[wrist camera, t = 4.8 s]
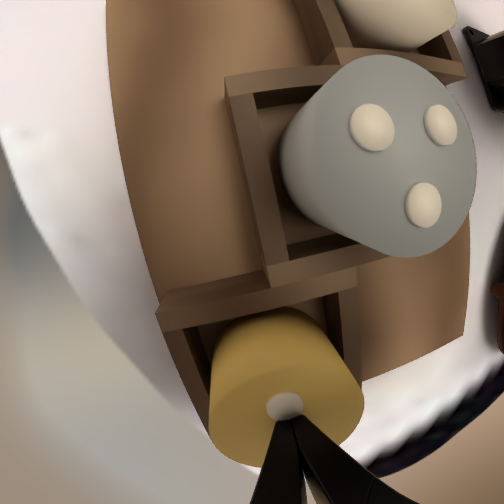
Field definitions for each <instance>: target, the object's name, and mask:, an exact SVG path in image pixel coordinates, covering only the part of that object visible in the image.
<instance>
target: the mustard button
mask: <svg viewBox="0 0 504 504" xmlns="http://www.w3.org/2000/svg"><path fill="white" fill-rule="evenodd" d="M363 410H364V396H363V393H362V390H361V388H360V386H359V385H358V383H357V382H356V380H355V379H354V377H353V375H352V374H351V372H350V371H349V369H348V368H347V366H346V365H345V363H344V362H343V360H342V359H341V357H340V355H339V354H338V352H337V351H336V349H335V348H334V346H333V345H332V343H331V342H330V340H329V339H328V337H327V336H326V334H325V333H324V331H323V330H322V328H321V326H320V325H319V324H318V323H317V321H315V320H314V319H313V318H312V317H311V316H309V315H308V314H306V313H305V312H303V311H300V310H298V309H295V308H292V307H286V306H283V307H279V308H275V309H271V310H267V311H262V312H258V313H254V314H250V315H245V316H241V317H236V318H235V319H234V320H232V321H231V322H230V323H229V324H228V325H227V326H226V327H225V328H224V329H223V330H222V331H221V333H220V334H219V336H218V338H217V340H216V342H215V345H214V348H213V355H212V370H211V387H210V406H209V435H210V438H211V440H212V442H213V444H214V445H215V446H216V448H217V449H218V450H219V451H220V452H221V453H223V454H224V455H225V456H227V457H228V458H230V459H232V460H234V461H236V462H239V463H242V464H245V465H249V466H254V467H261V468H262V465H263V462H264V459H265V456H266V452H267V449H268V446H269V443H270V439H271V436H272V432H273V429H274V425H275V422H276V421H277V420H288V419H292V418H294V417H296V416H297V415H301V414H303V415H305V416H306V417H307V418H308V419H309V420H310V421H311V422H312V423H313V424H315V425H316V426H317V427H318V428H319V429H320V430H321V431H322V432H323V433H325V434H326V435H327V436H328V437H329V438H330V439H331V440H332V441H334V442H335V443H336V444H337V445H338V446H339V445H340V444H341V443H342V442H343V441H345V440H346V439H347V438H348V437H349V436H350V434H351V433H352V432H353V431H354V429H355V428H356V426H357V425H358V423H359V421H360V419H361V417H362V414H363Z"/></svg>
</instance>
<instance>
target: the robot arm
mask: <svg viewBox="0 0 504 504" xmlns="http://www.w3.org/2000/svg"><path fill="white" fill-rule="evenodd" d="M463 31H464V33H465V36H466V38H467V40H468V42H469V45H470V47H471V50H472V52H473V55H474V57H475V60H476V62H477V65H478V68H479V71H480V73H481V76H482V79H483V82H484V86H485V89H486V92H487V95H488V99H489V103H490V105H491V107H492V109H493V110H495V111H500V112H504V31H502V32H499V33H496V34H494V35H491V36H489V35H487V34H485V33H483V32H481V31H478V30H476V29H474V28H471V27H469V26H467V27H465V28H463ZM304 476H305V478H304ZM305 479H306V481H307V484H308V486H309V488H310V490H311V492H312V495H313V497H314V499H315V501H316V503H317V504H419V503H417V502H415V501H413V500H411V499H409V498H407V497H405V496H404V495H402V494H400V493H398V492H397V491H395V490H394V489H392V488H391V487H389V486H388V485H386V484H385V483H384V482H382V481H381V480H380V479H379V478H377V477H376V478H375V475H373V474H372V473H371V472H370V471H368V470H367V469H366V468H365V467H363V466H362V465H361V464H360V463H358V462H357V461H356V460H355V459H354V458H352V457H351V456H350V455H349V454H348V453H346V452H345V451H344V450H343V449H342V448H341V447H339V446H338V445H337V444H336V443H335V442H334V441H332V440H331V439H330V438H329V437H328V436H327V435H326V434H325V433H323V432H322V431H321V430H320V429H319V428H318V427H317V426H316V425H315V424H313V423H312V422H311V421H310V420H309V419H308V418H307V417H306V416H305V415H303V414H301V415H297V416H296V417H294V418H292V419H288V420H277V421H276V422H275V425H274V429H273V432H272V436H271V439H270V443H269V446H268V449H267V452H266V456H265V459H264V462H263V465H262V468H261V472H260V475H259V478H258V481H257V484H256V487H255V490H254V493H253V496H252V499H251V501H250V504H307V496H306V487H305Z"/></svg>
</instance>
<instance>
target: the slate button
mask: <svg viewBox="0 0 504 504" xmlns="http://www.w3.org/2000/svg"><path fill="white" fill-rule="evenodd" d="M278 168H279V174H280V178H281V181H282V184H283V187H284V189H285V191H286V193H287V195H288V197H289V199H290V200H291V202H292V203H293V204H294V206H295V207H296V208H297V209H298V210H299V211H300V212H301V213H302V214H303V215H304V216H305V217H307V218H308V219H309V220H311V221H312V222H314V223H316V224H317V225H320V226H322V227H324V228H327V229H329V230H332V231H334V232H336V233H339V234H341V235H343V236H345V237H348V238H350V239H352V240H355V241H357V242H359V243H361V244H364V245H366V246H368V247H370V248H373V249H375V250H377V251H379V252H381V253H384V254H387V255H390V256H394V257H402V258H410V257H418V256H423V255H426V254H428V253H431V252H433V251H435V250H437V249H438V248H440V247H442V246H443V245H444V244H445V243H447V242H448V241H449V240H450V239H451V238H452V237H453V236H454V235H455V233H456V232H457V231H458V230H459V228H460V227H461V225H462V224H463V222H464V220H465V218H466V216H467V214H468V212H469V209H470V207H471V204H472V200H473V196H474V192H475V186H476V175H477V165H476V153H475V147H474V142H473V138H472V134H471V131H470V128H469V125H468V123H467V121H466V118H465V116H464V114H463V112H462V110H461V108H460V107H459V105H458V103H457V102H456V100H455V99H454V97H453V96H452V94H451V93H450V92H449V91H448V89H447V88H446V87H445V86H444V85H443V84H442V83H441V82H440V81H439V80H438V79H437V78H436V77H435V76H433V75H432V74H431V73H430V72H428V71H427V70H426V69H424V68H422V67H421V66H419V65H417V64H415V63H413V62H411V61H409V60H406V59H403V58H400V57H397V56H391V55H370V56H365V57H362V58H359V59H356V60H354V61H352V62H350V63H348V64H346V65H345V66H344V67H343V68H341V69H340V70H339V71H338V72H337V73H336V74H335V75H334V76H332V77H331V78H330V79H329V80H328V81H327V82H326V83H325V84H324V85H323V86H322V87H321V88H320V89H319V90H318V91H317V92H316V93H315V94H314V95H313V96H312V97H311V98H310V99H309V100H308V102H307V103H306V104H305V105H304V106H303V107H302V108H301V109H300V110H299V111H298V112H297V113H296V114H295V115H294V116H293V117H292V119H291V120H290V121H289V123H288V124H287V126H286V128H285V129H284V132H283V134H282V137H281V140H280V144H279V150H278Z"/></svg>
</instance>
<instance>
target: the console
mask: <svg viewBox="0 0 504 504" xmlns="http://www.w3.org/2000/svg"><path fill="white" fill-rule="evenodd" d="M106 33H107V53H108V67H109V78H110V88H111V97H112V105H113V112H114V119H115V126H116V132H117V139H118V144H119V150H120V156H121V161H122V166H123V171H124V176H125V181H126V185H127V190H128V194H129V199H130V203H131V207H132V211H133V215H134V219H135V223H136V227H137V231H138V234H139V238H140V242H141V245H142V249H143V252H144V256H145V259H146V263H147V266H148V269H149V273H150V276H151V279H152V282H153V285H154V288H155V291H156V294H157V297H158V300H159V303H160V305H159V307H158V309H157V311H156V313H155V314H156V317H157V320H158V323H159V325H160V328H161V330H162V333H163V336H164V338H165V341H166V343H167V346H168V348H169V351H170V353H171V356H172V358H173V360H174V363H175V365H176V368H177V370H178V372H179V375H180V377H181V379H182V381H183V384H184V386H185V388H186V390H187V392H188V394H189V397H190V399H191V401H192V403H193V405H194V407H195V409H196V411H197V413H198V415H199V417H200V419H201V421H202V423H203V425H204V427H205V429H206V431H207V433H208V435H209V406H210V387H211V370H212V355H213V348H214V345H215V342H216V340H217V338H218V336H219V334H220V333H221V331H222V330H223V329H224V328H225V327H226V326H227V325H228V324H229V323H230V322H231V321H232V320H234V319H235V318H236V317H241V316H245V315H250V314H254V313H258V312H262V311H267V310H271V309H275V308H279V307H283V306H286V307H292V308H295V309H298V310H300V311H303V312H305V313H306V314H308V315H309V316H311V317H312V318H313V319H314V320H315V321H317V323H318V324H319V325H320V326H321V328H322V330H323V331H324V333H325V334H326V336H327V337H328V339H329V340H330V342H331V343H332V345H333V346H334V348H335V349H336V351H337V352H338V354H339V355H340V357H341V359H342V360H343V362H344V363H345V365H346V366H347V368H348V369H349V371H350V372H351V374H352V375H353V377H354V379H355V380H356V382H357V383H358V385H359V386H360V388H361V390H362V381H365V380H368V379H370V378H373V377H375V376H378V375H381V374H383V373H386V372H388V371H390V370H393V369H395V368H397V367H400V366H402V365H404V364H407V363H409V362H411V361H413V360H415V359H418V358H420V357H422V356H424V355H426V354H428V353H430V352H432V351H434V350H436V349H438V348H440V347H442V346H444V345H446V344H448V343H449V342H451V341H453V340H455V339H457V338H459V337H460V336H462V335H463V332H464V325H465V317H466V309H467V299H468V287H469V269H470V226H469V212H468V214H467V216H466V218H465V220H464V222H463V224H462V225H461V227H460V228H459V230H458V231H457V232H456V233H455V235H454V236H453V237H452V238H451V239H450V240H449V241H448V242H447V243H445V244H444V245H443V246H442V247H440V248H438V249H437V250H435V251H433V252H431V253H428V254H426V255H423V256H418V257H410V258H402V257H394V256H390V255H387V254H384V253H381V252H379V251H377V250H375V249H373V248H370V247H368V246H366V245H364V244H361V243H359V242H357V241H355V240H352V239H350V238H348V237H345V236H343V235H341V234H339V233H336V232H334V231H332V230H329V229H327V228H324V227H322V226H320V225H317V224H316V223H314V222H312V221H311V220H309V219H308V218H307V217H305V216H304V215H303V214H302V213H301V212H300V211H299V210H298V209H297V208H296V207H295V206H294V204H293V203H292V202H291V200H290V199H289V197H288V195H287V193H286V191H285V189H284V187H283V184H282V181H281V178H280V174H279V168H278V150H279V144H280V140H281V137H282V134H283V132H284V129H285V128H286V126H287V124H288V123H289V121H290V120H291V119H292V117H293V116H294V115H295V114H296V113H297V112H298V111H299V110H300V109H301V108H302V107H303V106H304V105H305V104H306V103H307V102H308V100H309V99H310V98H311V97H312V96H313V95H314V94H315V93H316V92H317V91H318V90H319V89H320V88H321V87H322V86H323V85H324V84H325V83H326V82H327V81H328V80H329V79H330V78H331V77H332V76H334V75H335V74H336V73H337V72H338V71H339V70H340V69H341V68H343V67H344V66H345V65H346V64H348V63H350V62H352V61H354V60H356V59H359V58H362V57H365V56H370V55H391V56H397V57H400V58H403V59H406V60H409V61H411V62H413V63H415V64H417V65H419V66H421V67H422V68H424V69H426V70H427V71H428V72H430V73H431V74H432V75H433V76H435V77H436V78H437V79H438V80H439V81H440V82H441V83H442V84H443V85H444V86H445V87H446V85H448V84H450V83H453V82H456V81H459V80H462V79H464V78H467V75H466V72H465V69H464V67H463V64H462V61H461V58H460V56H459V53H458V51H457V48H456V46H455V44H454V41H453V39H452V37H451V34H450V32H449V30H447V31H445V32H443V33H442V34H440V35H438V36H436V37H435V38H433V39H431V40H430V41H428V42H426V43H425V44H423V45H421V46H420V47H418V48H416V49H415V50H413V51H412V52H410V53H407V52H400V51H391V50H381V49H368V48H353V46H352V44H351V41H350V38H349V36H348V33H347V31H346V28H345V26H344V24H343V21H342V19H341V16H340V14H339V12H338V10H337V7H336V5H335V3H334V1H333V0H106ZM209 437H210V435H209ZM210 439H211V438H210Z"/></svg>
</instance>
